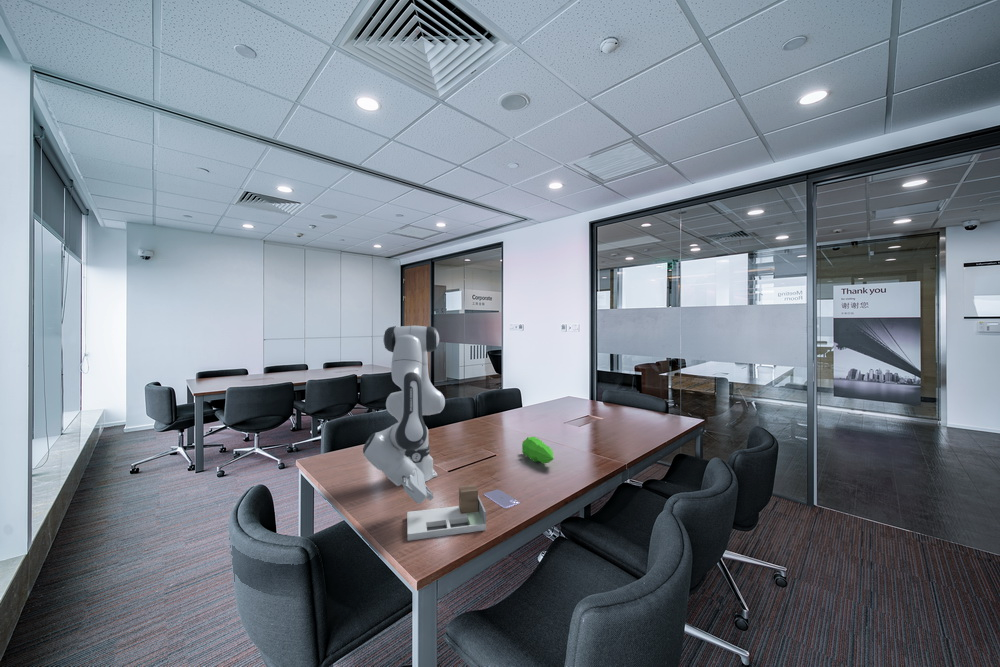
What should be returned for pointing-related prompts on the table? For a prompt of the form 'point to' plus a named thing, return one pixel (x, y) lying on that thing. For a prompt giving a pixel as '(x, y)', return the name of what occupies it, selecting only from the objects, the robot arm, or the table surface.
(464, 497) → the walnut block
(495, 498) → the mobile phone
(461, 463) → the table surface
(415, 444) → the robot arm
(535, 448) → the green faceted blob
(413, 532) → the track
